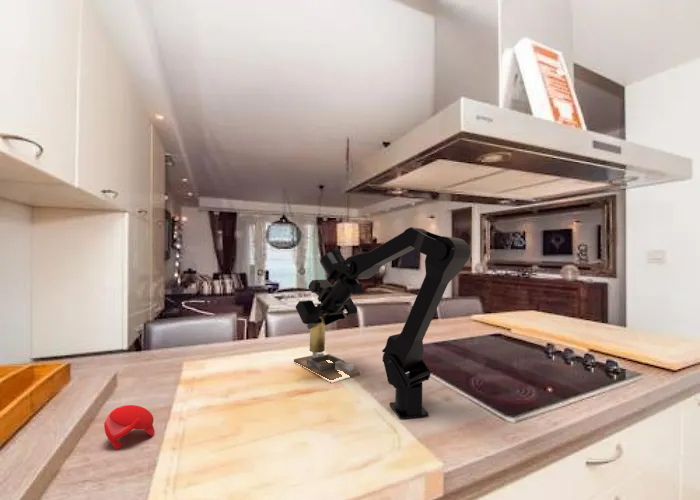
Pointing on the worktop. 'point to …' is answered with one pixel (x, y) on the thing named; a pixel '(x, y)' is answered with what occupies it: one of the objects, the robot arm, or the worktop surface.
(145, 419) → the red curved piece
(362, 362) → the worktop surface
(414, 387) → the robot arm
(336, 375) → the shaft rig
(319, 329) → the olive gold cylinder
